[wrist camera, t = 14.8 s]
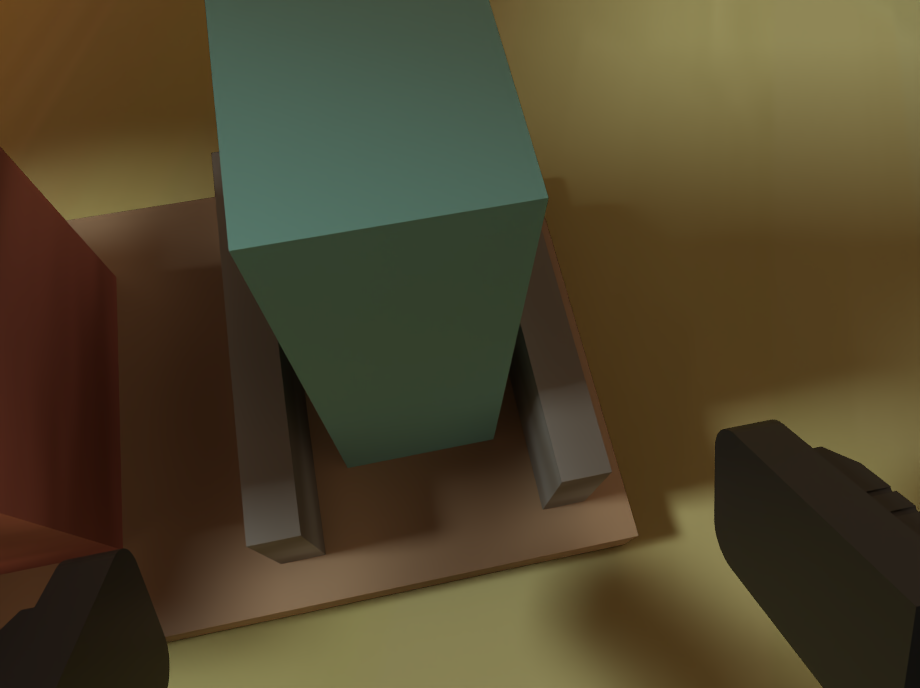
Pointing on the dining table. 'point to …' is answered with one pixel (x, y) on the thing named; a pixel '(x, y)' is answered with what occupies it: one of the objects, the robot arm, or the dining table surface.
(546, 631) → the dining table surface
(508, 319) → the teal block
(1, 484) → the book rack
